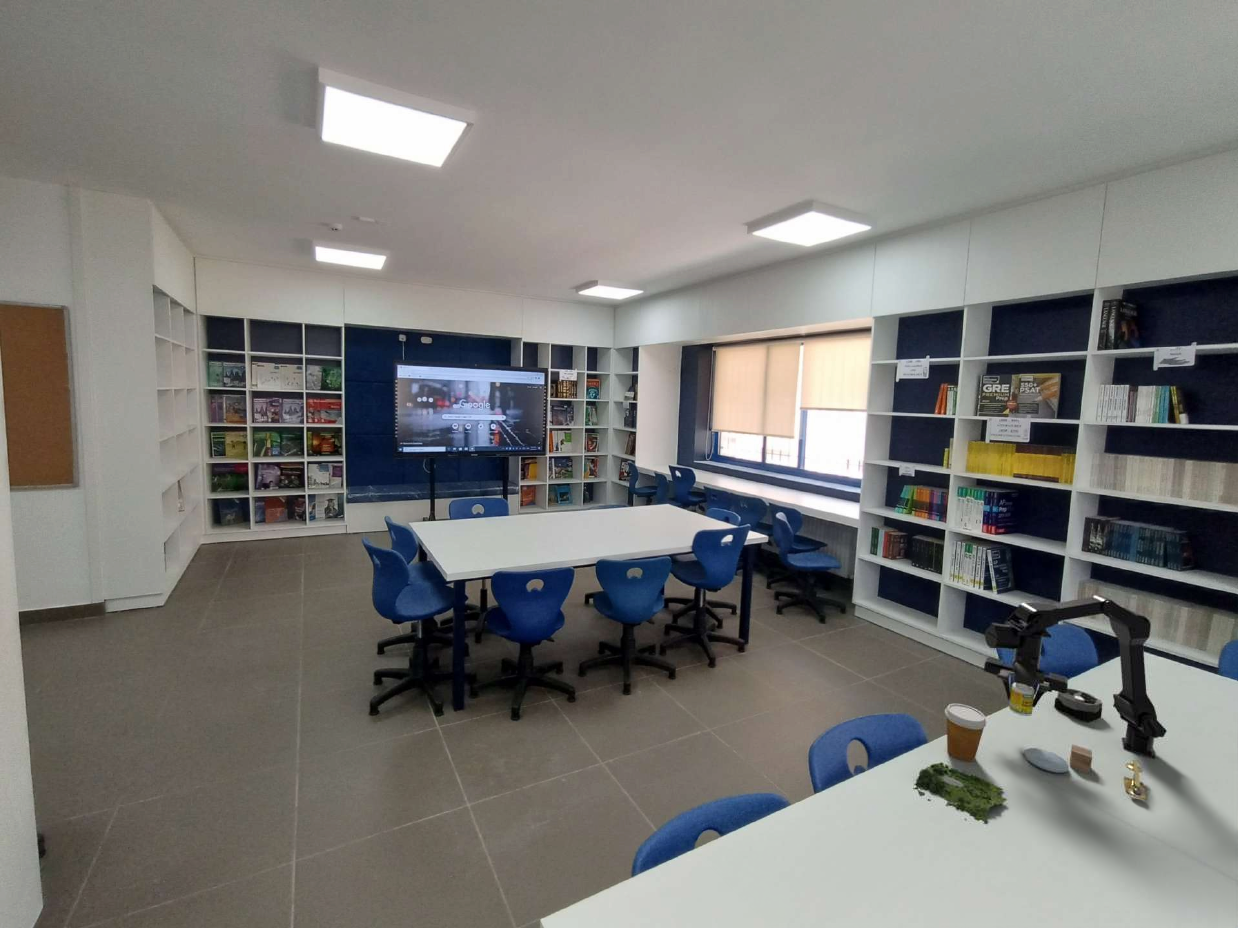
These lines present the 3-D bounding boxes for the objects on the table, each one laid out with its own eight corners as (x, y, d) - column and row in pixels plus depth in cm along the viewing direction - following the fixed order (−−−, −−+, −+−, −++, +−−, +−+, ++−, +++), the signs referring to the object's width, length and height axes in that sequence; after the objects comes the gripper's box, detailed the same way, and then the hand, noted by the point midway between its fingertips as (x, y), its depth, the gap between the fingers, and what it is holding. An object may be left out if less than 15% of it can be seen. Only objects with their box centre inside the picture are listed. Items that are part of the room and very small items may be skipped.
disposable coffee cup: (988, 768, 145) (993, 724, 144) (947, 762, 147) (953, 718, 146) (973, 746, 154) (978, 705, 153) (935, 741, 156) (940, 700, 155)
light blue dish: (1025, 748, 154) (1026, 743, 154) (1067, 762, 149) (1068, 757, 149) (1023, 764, 147) (1024, 759, 147) (1067, 779, 142) (1068, 774, 142)
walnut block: (1069, 759, 151) (1072, 743, 150) (1089, 766, 148) (1091, 750, 148) (1069, 766, 147) (1072, 750, 147) (1089, 773, 145) (1092, 757, 145)
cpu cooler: (1051, 690, 177) (1069, 684, 181) (1049, 707, 178) (1067, 701, 182) (1090, 707, 168) (1108, 700, 172) (1087, 725, 168) (1105, 718, 173)
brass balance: (1122, 772, 146) (1125, 753, 145) (1141, 778, 144) (1144, 759, 143) (1126, 798, 136) (1129, 778, 135) (1146, 805, 134) (1150, 785, 133)
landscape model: (901, 794, 137) (901, 774, 137) (947, 768, 148) (947, 749, 148) (974, 833, 123) (974, 811, 123) (1019, 801, 134) (1019, 780, 134)
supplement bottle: (1019, 705, 162) (1022, 673, 161) (1037, 715, 156) (1040, 682, 156) (1004, 707, 160) (1007, 675, 160) (1021, 717, 155) (1024, 684, 154)
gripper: (984, 649, 156) (978, 702, 158) (1070, 670, 145) (1063, 728, 146) (989, 636, 165) (983, 687, 166) (1070, 656, 153) (1063, 710, 155)
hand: (1021, 702), depth 158 cm, fingers closed on supplement bottle, 5 cm apart
